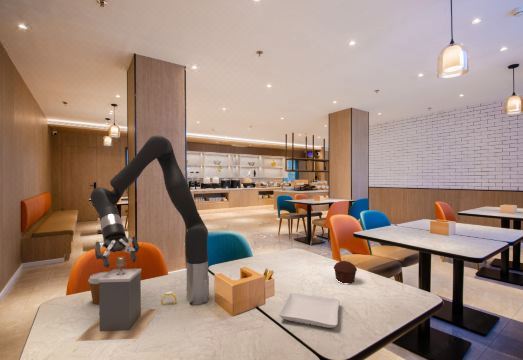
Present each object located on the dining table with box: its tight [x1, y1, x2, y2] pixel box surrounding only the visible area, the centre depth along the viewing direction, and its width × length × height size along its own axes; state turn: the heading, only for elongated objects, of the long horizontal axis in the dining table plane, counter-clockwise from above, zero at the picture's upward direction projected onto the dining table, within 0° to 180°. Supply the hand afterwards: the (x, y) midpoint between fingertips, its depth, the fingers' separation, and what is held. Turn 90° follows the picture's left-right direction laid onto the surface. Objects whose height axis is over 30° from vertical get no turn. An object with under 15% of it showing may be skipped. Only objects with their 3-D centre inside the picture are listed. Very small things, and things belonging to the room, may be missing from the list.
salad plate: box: [278, 292, 341, 329], centre depth 105 cm, size 21×21×3 cm
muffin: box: [333, 260, 358, 284], centre depth 138 cm, size 12×11×10 cm
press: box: [98, 268, 142, 331], centre depth 97 cm, size 12×10×18 cm
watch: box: [160, 290, 177, 306], centre depth 111 cm, size 6×3×6 cm, turn 98°
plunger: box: [115, 256, 127, 275], centre depth 97 cm, size 7×7×21 cm
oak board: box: [75, 308, 159, 342], centre depth 97 cm, size 20×20×1 cm
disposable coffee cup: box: [88, 271, 110, 305], centre depth 115 cm, size 10×10×12 cm
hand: (121, 264), depth 96 cm, fingers open, 8 cm apart
